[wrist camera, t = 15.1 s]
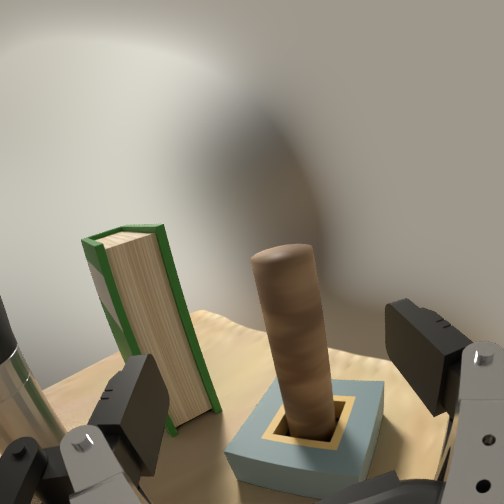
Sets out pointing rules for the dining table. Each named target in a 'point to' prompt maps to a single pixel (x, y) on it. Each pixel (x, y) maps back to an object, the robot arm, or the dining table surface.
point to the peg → (297, 338)
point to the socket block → (309, 443)
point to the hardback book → (151, 313)
